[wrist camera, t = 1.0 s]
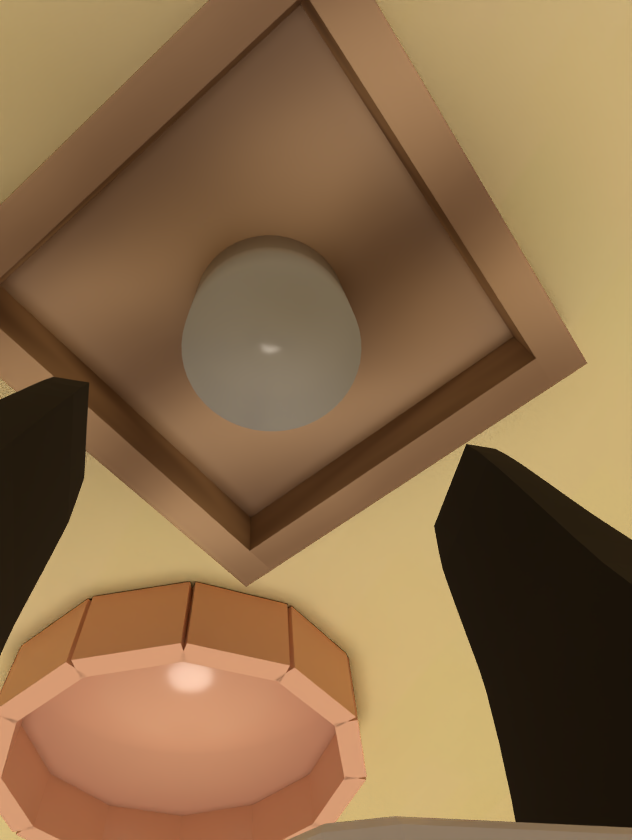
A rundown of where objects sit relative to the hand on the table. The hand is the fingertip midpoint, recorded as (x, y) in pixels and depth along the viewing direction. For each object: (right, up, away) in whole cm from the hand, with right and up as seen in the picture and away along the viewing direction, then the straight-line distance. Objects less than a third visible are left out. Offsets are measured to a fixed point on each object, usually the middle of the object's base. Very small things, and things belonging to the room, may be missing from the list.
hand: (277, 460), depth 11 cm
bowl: (-5, -13, +17) cm, 23 cm away
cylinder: (-1, +4, +8) cm, 9 cm away
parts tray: (-1, +4, +8) cm, 9 cm away
